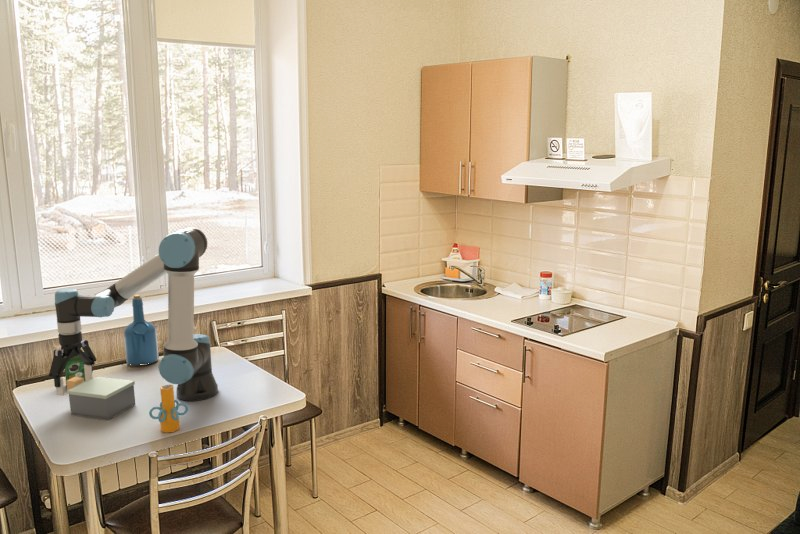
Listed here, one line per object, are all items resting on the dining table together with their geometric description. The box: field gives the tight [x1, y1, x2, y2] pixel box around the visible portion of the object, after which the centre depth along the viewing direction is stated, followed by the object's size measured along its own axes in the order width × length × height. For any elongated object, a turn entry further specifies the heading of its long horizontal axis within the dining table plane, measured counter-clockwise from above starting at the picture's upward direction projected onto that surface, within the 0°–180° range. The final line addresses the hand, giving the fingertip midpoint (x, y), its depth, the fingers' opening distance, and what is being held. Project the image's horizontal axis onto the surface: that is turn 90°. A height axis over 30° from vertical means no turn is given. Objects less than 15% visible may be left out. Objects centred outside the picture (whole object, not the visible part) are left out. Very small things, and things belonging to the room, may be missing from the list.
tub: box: [68, 384, 136, 421], centre depth 239 cm, size 16×14×8 cm
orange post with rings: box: [149, 384, 189, 434], centre depth 222 cm, size 12×10×15 cm
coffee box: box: [64, 349, 87, 386], centre depth 265 cm, size 8×3×13 cm, turn 133°
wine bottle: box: [123, 294, 160, 366], centre depth 288 cm, size 14×13×30 cm
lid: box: [66, 376, 136, 399], centre depth 239 cm, size 22×15×4 cm
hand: (75, 388), depth 242 cm, fingers open, 13 cm apart
